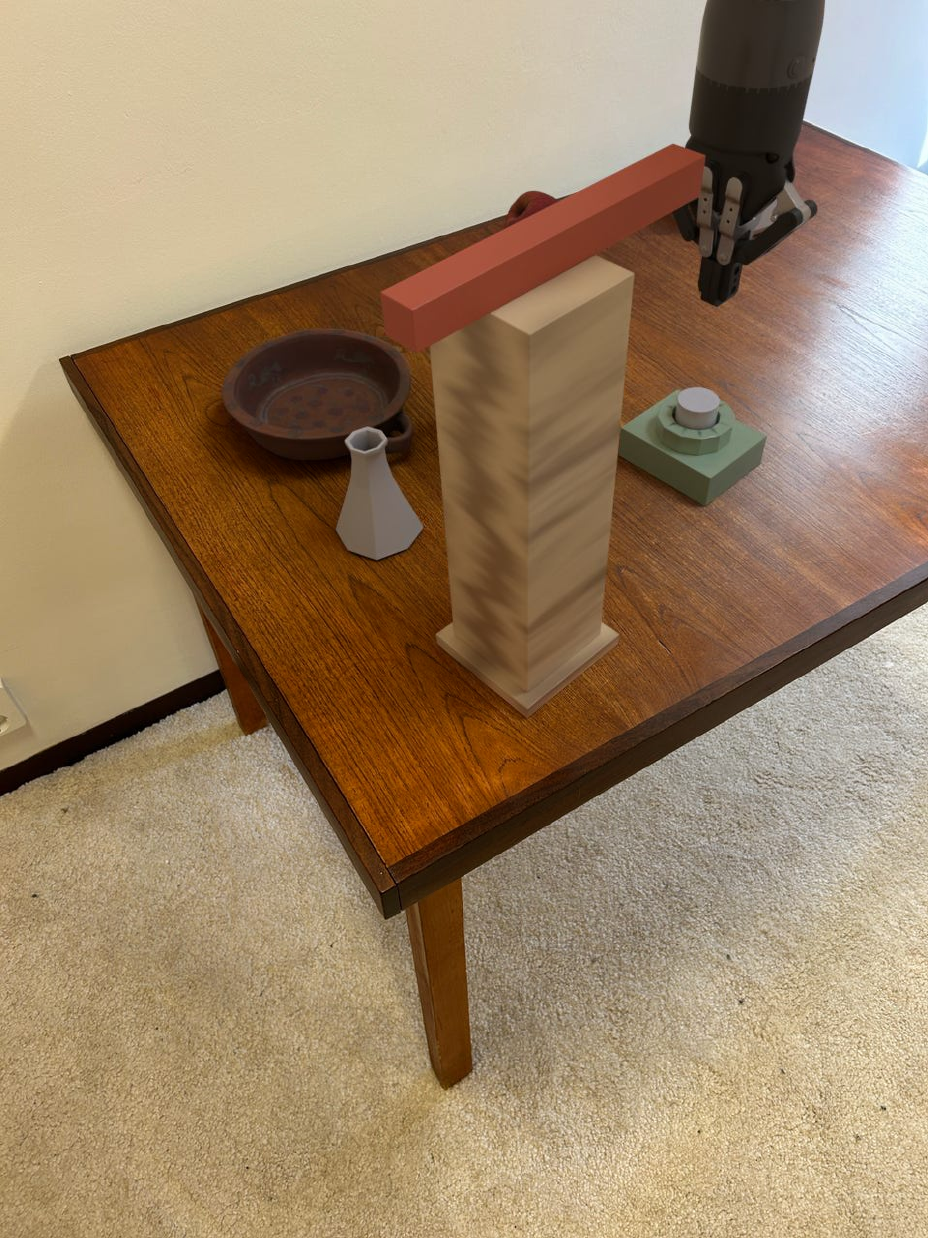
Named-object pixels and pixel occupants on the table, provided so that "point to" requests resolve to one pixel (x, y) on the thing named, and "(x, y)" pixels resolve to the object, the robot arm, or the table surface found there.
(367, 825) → the table surface
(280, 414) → the dish
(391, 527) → the flask
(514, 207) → the apple
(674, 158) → the rod
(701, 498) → the green button base
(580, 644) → the stand
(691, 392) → the grey push button
